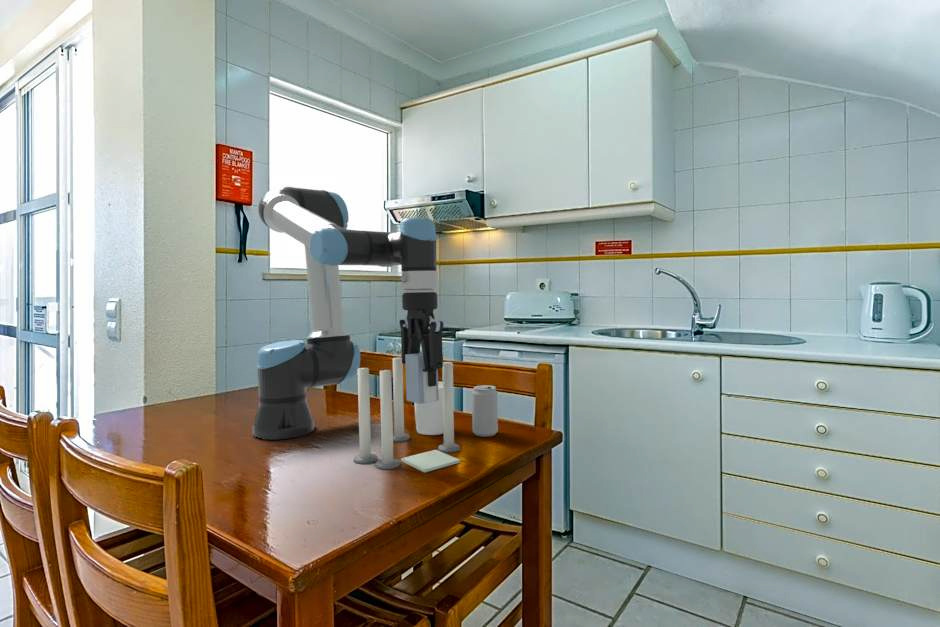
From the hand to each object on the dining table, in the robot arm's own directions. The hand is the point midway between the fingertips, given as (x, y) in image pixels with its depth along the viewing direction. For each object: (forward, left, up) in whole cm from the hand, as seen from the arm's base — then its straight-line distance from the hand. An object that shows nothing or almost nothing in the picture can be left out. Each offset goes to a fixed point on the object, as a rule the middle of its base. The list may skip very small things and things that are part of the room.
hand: (422, 398), depth 112 cm
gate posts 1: (-12, +4, -13) cm, 18 cm away
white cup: (-7, +21, -13) cm, 26 cm away
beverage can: (+7, +22, -13) cm, 26 cm away
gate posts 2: (-1, +1, -13) cm, 13 cm away
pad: (+2, -1, -13) cm, 13 cm away
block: (0, 0, 0) cm, 0 cm away
